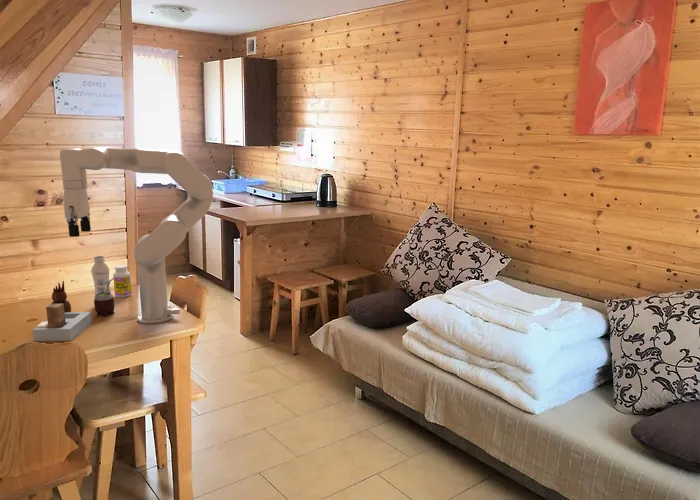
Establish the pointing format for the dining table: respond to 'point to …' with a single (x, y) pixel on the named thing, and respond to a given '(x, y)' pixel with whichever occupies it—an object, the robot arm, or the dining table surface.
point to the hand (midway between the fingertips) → (80, 233)
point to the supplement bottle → (122, 281)
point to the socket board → (68, 332)
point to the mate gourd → (104, 303)
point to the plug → (56, 316)
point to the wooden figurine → (61, 297)
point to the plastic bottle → (100, 275)
